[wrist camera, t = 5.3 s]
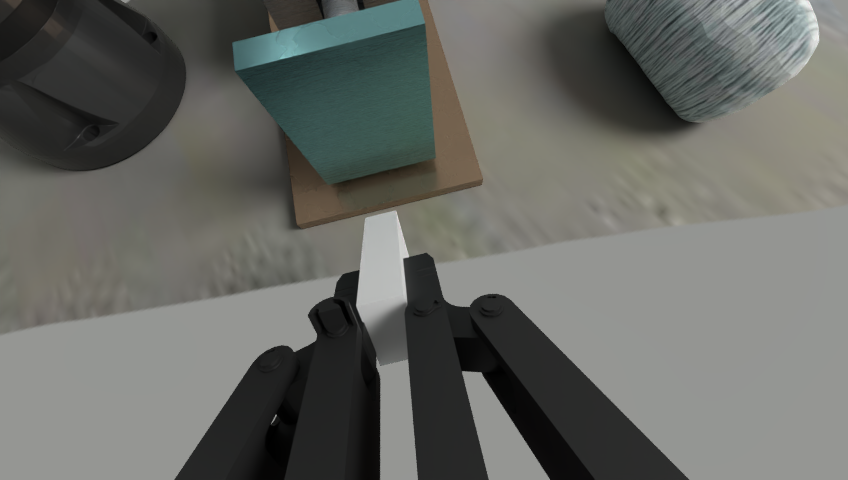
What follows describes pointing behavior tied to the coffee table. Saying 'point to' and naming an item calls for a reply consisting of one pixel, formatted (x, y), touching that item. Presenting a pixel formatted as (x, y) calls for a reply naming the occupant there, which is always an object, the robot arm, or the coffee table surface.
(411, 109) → the block
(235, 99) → the coffee table surface
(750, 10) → the spool
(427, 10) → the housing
